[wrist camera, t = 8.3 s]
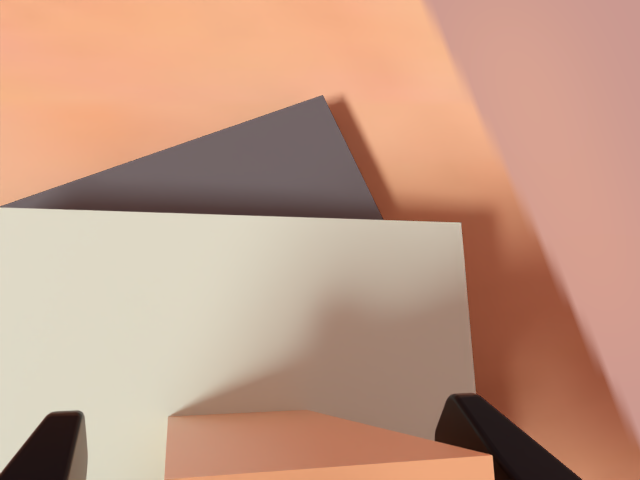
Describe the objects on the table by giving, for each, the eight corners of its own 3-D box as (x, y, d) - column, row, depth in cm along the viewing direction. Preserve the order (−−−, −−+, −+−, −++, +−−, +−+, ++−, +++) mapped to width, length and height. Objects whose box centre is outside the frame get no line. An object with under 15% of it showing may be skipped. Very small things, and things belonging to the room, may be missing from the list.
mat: (555, 607, 17) (579, 621, 16) (99, 957, 12) (92, 1005, 12) (314, 109, 18) (322, 95, 17) (-159, 276, 14) (-182, 269, 13)
